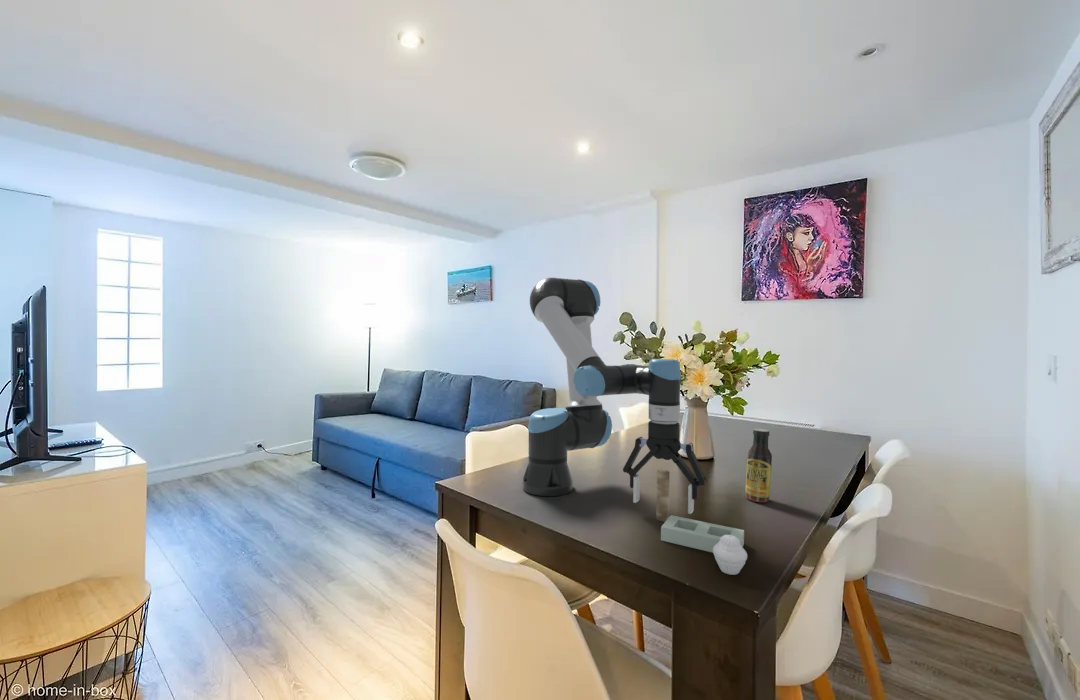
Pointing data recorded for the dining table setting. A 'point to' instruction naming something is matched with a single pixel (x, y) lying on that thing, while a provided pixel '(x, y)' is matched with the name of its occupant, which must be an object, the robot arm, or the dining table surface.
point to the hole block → (696, 533)
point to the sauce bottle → (759, 468)
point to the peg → (662, 495)
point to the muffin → (729, 554)
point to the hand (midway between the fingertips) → (662, 506)
